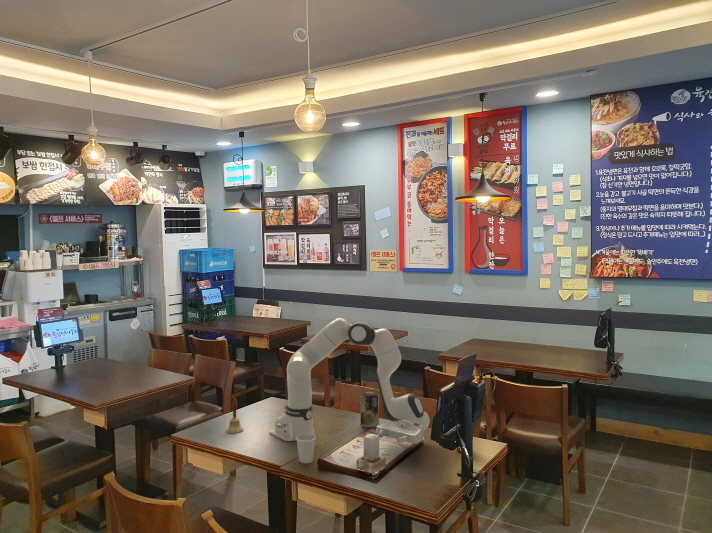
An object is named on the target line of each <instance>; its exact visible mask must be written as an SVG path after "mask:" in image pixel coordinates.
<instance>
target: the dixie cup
mask: <svg viewBox="0 0 712 533" xmlns="http://www.w3.org/2000/svg"><path fill="white" fill-rule="evenodd" d="M296 439H297V440H296V443H297V446H296V447H297V453H298V462H300V464H311V463H312V462H313V461H314V454H315V453H314V452H315V446H316V439H317V436H316V434H315V435H313V434H300V435H298V436H297V437H296Z"/></svg>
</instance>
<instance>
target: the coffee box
mask: <svg viewBox="0 0 712 533" xmlns="http://www.w3.org/2000/svg"><path fill="white" fill-rule="evenodd" d="M379 392H380V391H378V392H377V391H361V392H360V396H359V397H360V398H359V399H360V428H363V427H364V428H377V426H378V425H380V415H379V414H380V409H379V408H380V405H379V404H380V398H379V396H380V395H379V394H380V393H379Z"/></svg>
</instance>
